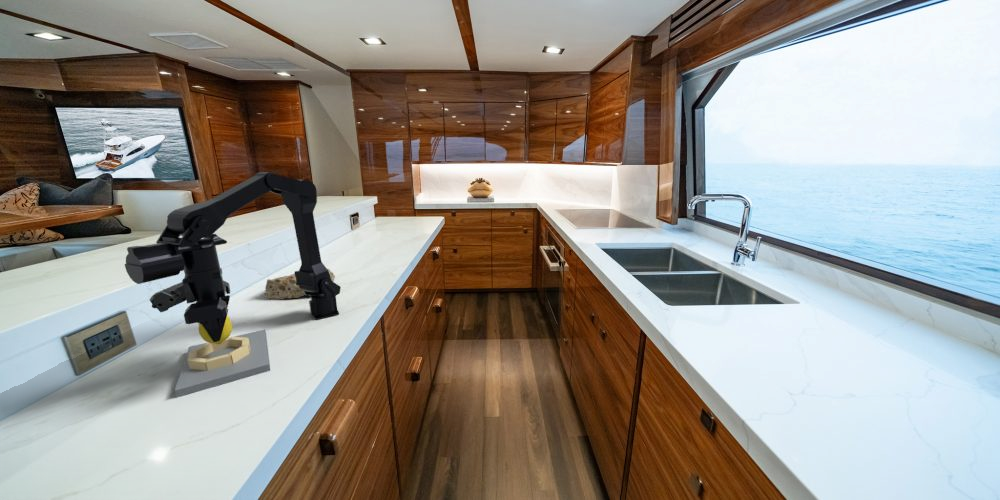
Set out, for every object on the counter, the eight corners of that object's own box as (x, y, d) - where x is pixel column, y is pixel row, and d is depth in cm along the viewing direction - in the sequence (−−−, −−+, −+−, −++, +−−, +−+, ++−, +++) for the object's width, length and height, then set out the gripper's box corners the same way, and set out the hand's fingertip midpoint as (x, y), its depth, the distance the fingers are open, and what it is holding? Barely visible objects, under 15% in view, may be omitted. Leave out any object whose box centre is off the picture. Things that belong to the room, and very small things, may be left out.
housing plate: (266, 334, 88) (264, 322, 88) (270, 370, 73) (267, 355, 72) (190, 352, 80) (187, 339, 79) (176, 397, 64) (172, 381, 63)
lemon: (217, 351, 72) (209, 317, 70) (196, 349, 73) (188, 315, 71) (241, 339, 77) (234, 306, 75) (221, 336, 78) (214, 304, 76)
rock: (260, 305, 110) (256, 275, 110) (284, 299, 124) (280, 272, 124) (325, 296, 112) (321, 266, 112) (341, 290, 126) (337, 264, 126)
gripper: (158, 265, 73) (175, 330, 77) (136, 289, 58) (158, 368, 62) (223, 257, 79) (236, 317, 83) (218, 277, 65) (234, 349, 69)
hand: (217, 335), depth 74 cm, fingers closed on lemon, 5 cm apart
